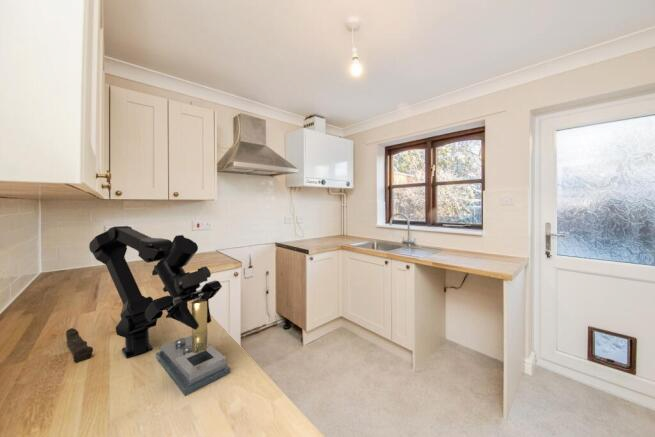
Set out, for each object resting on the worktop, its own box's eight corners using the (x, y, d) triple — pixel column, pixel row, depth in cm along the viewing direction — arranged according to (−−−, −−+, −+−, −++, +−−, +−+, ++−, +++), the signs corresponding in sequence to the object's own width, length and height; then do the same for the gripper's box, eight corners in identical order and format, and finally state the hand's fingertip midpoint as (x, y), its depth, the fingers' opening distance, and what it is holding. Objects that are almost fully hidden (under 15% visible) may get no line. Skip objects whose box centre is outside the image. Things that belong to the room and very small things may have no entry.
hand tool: (93, 358, 73) (93, 342, 73) (73, 365, 70) (73, 348, 70) (81, 337, 85) (81, 324, 85) (64, 342, 82) (64, 328, 81)
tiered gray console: (156, 358, 73) (155, 343, 73) (196, 343, 81) (195, 329, 81) (184, 395, 58) (184, 377, 58) (229, 372, 67) (229, 356, 67)
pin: (189, 351, 65) (188, 303, 64) (199, 344, 68) (199, 298, 67) (199, 354, 63) (199, 305, 63) (210, 346, 67) (210, 300, 66)
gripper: (151, 266, 58) (184, 323, 54) (217, 253, 75) (246, 295, 71) (131, 294, 61) (161, 350, 57) (198, 276, 78) (225, 317, 74)
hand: (203, 325), depth 65 cm, fingers closed on pin, 3 cm apart
